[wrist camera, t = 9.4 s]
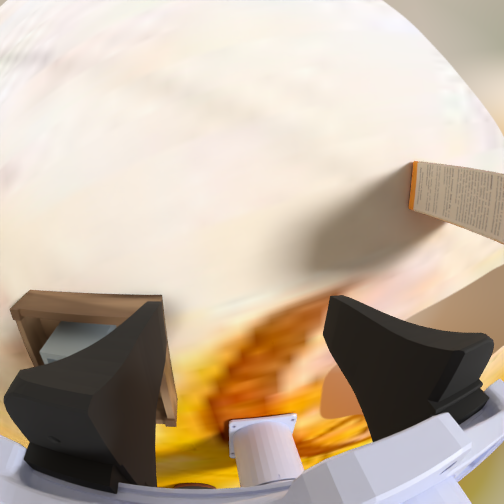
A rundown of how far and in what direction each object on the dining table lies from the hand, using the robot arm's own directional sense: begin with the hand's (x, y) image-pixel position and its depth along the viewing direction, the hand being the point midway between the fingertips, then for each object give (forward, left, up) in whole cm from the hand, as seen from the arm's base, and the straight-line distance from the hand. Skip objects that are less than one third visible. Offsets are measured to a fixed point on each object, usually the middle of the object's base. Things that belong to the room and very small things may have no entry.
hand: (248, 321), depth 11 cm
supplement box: (+6, -20, -10) cm, 23 cm away
